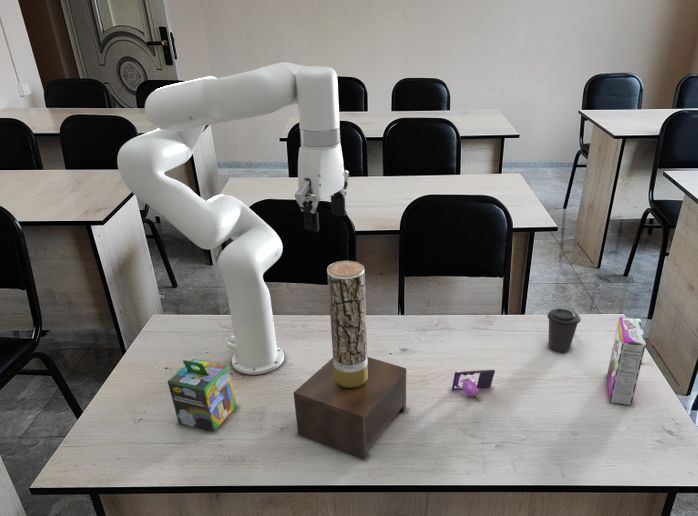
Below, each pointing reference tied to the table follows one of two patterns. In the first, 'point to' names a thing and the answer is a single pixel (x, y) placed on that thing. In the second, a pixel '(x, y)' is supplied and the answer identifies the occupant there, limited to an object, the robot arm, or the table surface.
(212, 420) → the chalk box
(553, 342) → the coffee cup
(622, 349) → the candy bar box
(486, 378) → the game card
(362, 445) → the walnut storage box
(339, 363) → the paper tube
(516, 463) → the table surface
